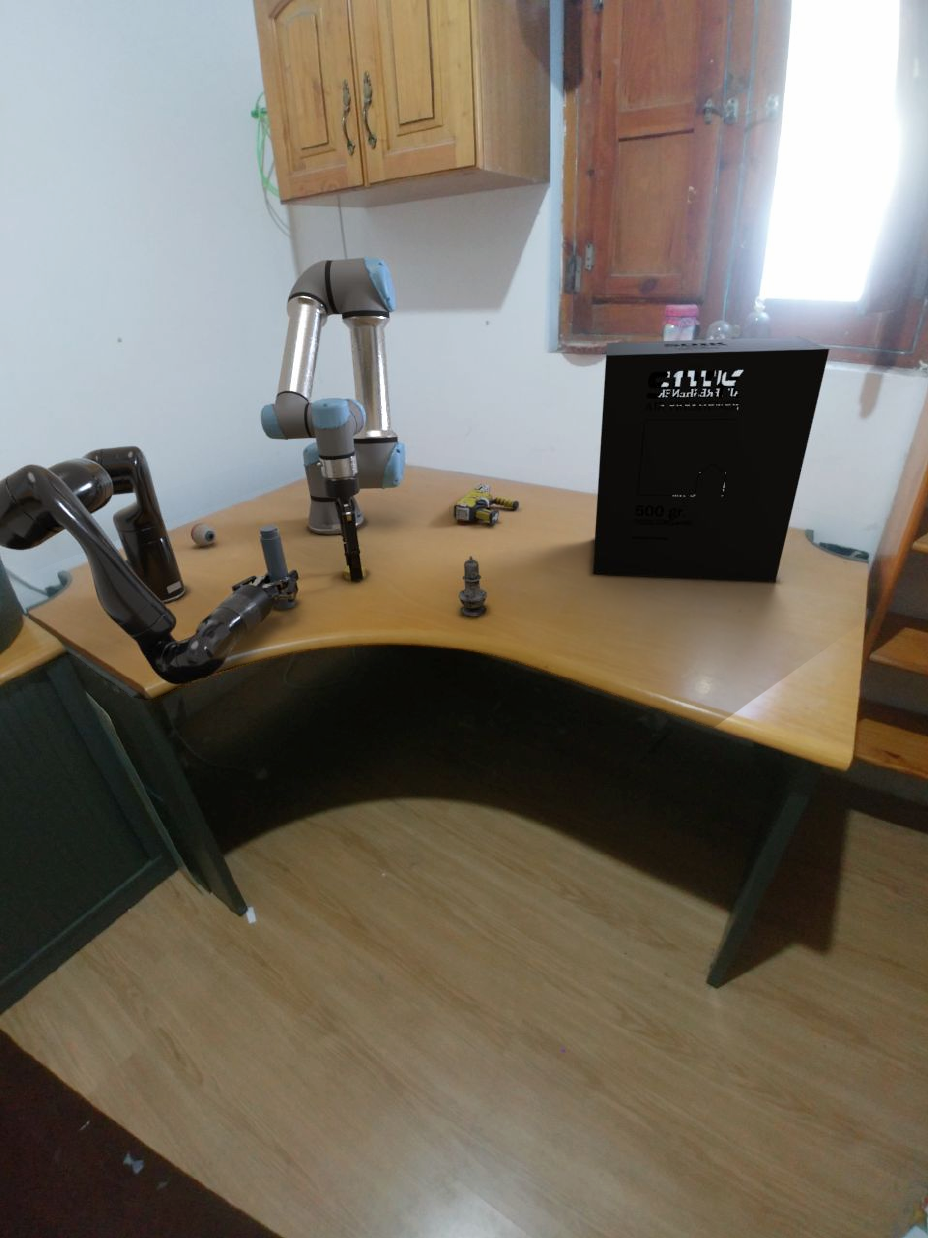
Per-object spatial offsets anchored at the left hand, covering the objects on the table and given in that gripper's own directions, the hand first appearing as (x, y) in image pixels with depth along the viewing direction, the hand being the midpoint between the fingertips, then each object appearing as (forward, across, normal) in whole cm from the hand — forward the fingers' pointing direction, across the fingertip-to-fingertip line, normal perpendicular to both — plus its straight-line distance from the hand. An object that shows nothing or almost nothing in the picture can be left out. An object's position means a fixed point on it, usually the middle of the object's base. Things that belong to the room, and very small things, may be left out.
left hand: (285, 573), depth 128 cm
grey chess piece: (+1, -41, +6) cm, 41 cm away
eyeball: (+25, +38, +6) cm, 46 cm away
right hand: (+13, -10, +6) cm, 17 cm away
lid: (+13, -10, +5) cm, 17 cm away
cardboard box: (+32, -82, +6) cm, 88 cm away
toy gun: (+58, -33, +6) cm, 67 cm away
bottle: (-3, 0, +6) cm, 7 cm away
